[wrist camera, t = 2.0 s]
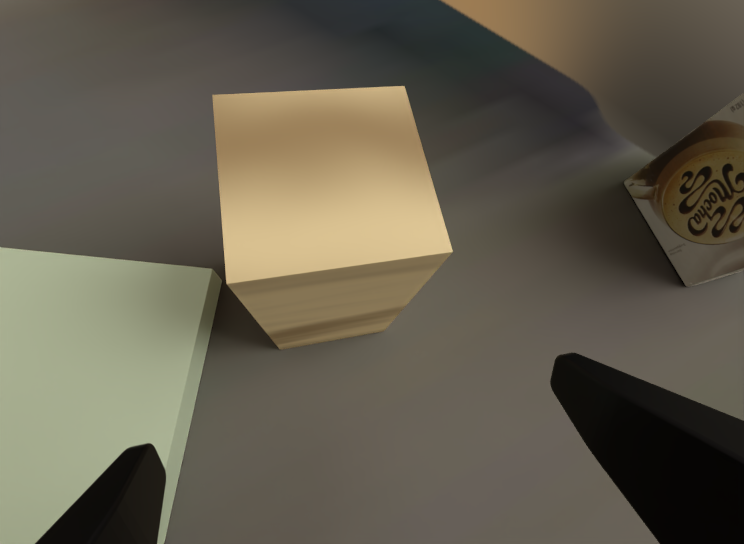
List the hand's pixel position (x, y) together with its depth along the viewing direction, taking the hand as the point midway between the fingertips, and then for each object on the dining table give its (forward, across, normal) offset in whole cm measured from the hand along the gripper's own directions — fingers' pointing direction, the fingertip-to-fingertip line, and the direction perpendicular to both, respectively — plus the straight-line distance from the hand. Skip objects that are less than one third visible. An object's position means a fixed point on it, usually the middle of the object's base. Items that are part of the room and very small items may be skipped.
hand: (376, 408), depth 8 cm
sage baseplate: (+11, +14, +6) cm, 19 cm away
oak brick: (+13, 0, +4) cm, 14 cm away
